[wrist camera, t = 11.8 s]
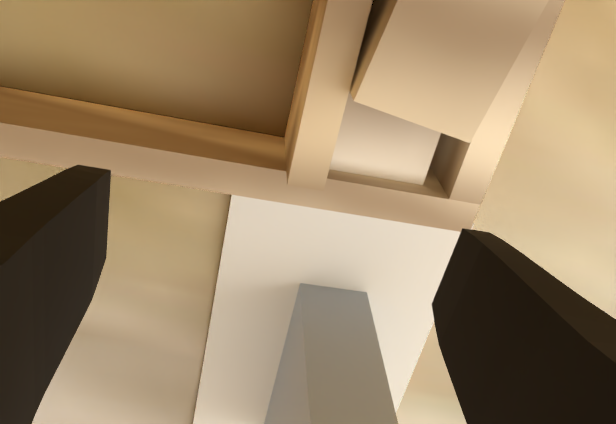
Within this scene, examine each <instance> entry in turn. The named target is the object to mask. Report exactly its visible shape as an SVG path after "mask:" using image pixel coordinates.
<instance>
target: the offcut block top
mask: <svg viewBox="0 0 616 424" xmlns="http://www.w3.org/2000/svg"><path fill="white" fill-rule="evenodd" d="M548 1H549V0H375V1H374V4H373V6H372V8H371V11H370V13H369V16H368V20H367V24H366V28H365V32H364V36H363V40H362V43H361V47H360V51H359V55H358V59H357V63H356V67H355V71H354V75H353V79H352V82H351V86H350V90H349V91H350V94H351V96H352V98H353V101H355V102H357V103H360V104H363V105H366V106H368V107H371V108H374V109H377V110H380V111H382V112H385V113H388V114H391V115H393V116H396V117H399V118H402V119H404V120H407V121H410V122H413V123H415V124H418V125H421V126H424V127H426V128H429V129H432V130H435V131H437V132H440V133H443V134H446V135H448V136H451V137H454V138H457V139H460V140H462V141H465V142H468V143H470V142H471V140H472V138H473V136H474V134H475V133H476V131H477V129H478V127H479V125H480V124H481V122H482V120H483V118H484V116H485V115H486V113H487V111H488V109H489V107H490V106H491V104H492V102H493V100H494V98H495V96H496V95H497V93H498V91H499V89H500V87H501V86H502V84H503V82H504V80H505V78H506V77H507V75H508V73H509V71H510V69H511V68H512V66H513V64H514V62H515V60H516V59H517V57H518V55H519V53H520V51H521V49H522V48H523V46H524V44H525V42H526V40H527V39H528V37H529V35H530V33H531V31H532V30H533V28H534V26H535V24H536V22H537V21H538V19H539V17H540V15H541V13H542V12H543V10H544V8H545V6H546V4H547V2H548Z"/></svg>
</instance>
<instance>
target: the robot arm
mask: <svg viewBox="0 0 616 424" xmlns="http://www.w3.org/2000/svg"><path fill="white" fill-rule="evenodd" d="M110 179H111V170H108V169H102V168H96V167H90V166H84V165H76V166H73V167H71V168H68V169H66V170H64V171H62V172H60V173H58V174H56V175H54V176H52V177H50V178H48V179H46V180H44V181H42V182H40V183H38V184H36V185H34V186H32V187H30V188H28V189H26V190H24V191H22V192H20V193H18V194H16V195H14V196H11V197H9V198H7V199H5V200H3V201H1V202H0V424H32V421H33V419H34V416H35V413H36V411H37V409H38V407H39V405H40V402H41V400H42V398H43V396H44V394H45V391H46V389H47V388H48V386H49V384H50V382H51V380H52V378H53V376H54V374H55V372H56V370H57V368H58V366H59V364H60V362H61V360H62V358H63V356H64V354H65V352H66V350H67V348H68V346H69V344H70V342H71V340H72V338H73V337H74V335H75V333H76V331H77V329H78V327H79V325H80V323H81V321H82V319H83V317H84V315H85V313H86V311H87V309H88V307H89V305H90V303H91V300H92V298H93V295H94V292H95V289H96V287H97V284H98V281H99V278H100V275H101V272H102V269H103V266H104V263H105V260H106V250H107V232H108V214H109V196H110ZM432 310H433V316H434V322H435V327H436V332H437V337H438V342H439V346H440V349H441V352H442V355H443V358H444V361H445V364H446V366H447V369H448V372H449V375H450V378H451V381H452V383H453V386H454V389H455V392H456V395H457V397H458V400H459V403H460V406H461V408H462V411H463V414H464V417H465V419H466V422H467V424H616V319H614V318H613V317H611V316H610V315H608V314H607V313H605V312H604V311H602V310H601V309H599V308H598V307H596V306H595V305H593V304H592V303H590V302H589V301H587V300H586V299H584V298H583V297H582V296H580V295H579V294H577V293H576V292H574V291H573V290H572V289H570V288H569V287H567V286H566V285H565V284H563V283H562V282H560V281H559V280H558V279H556V278H555V277H554V276H552V275H551V274H550V273H548V272H547V271H545V270H544V269H543V268H541V267H540V266H539V265H537V264H536V263H535V262H533V261H532V260H530V259H529V258H528V257H526V256H525V255H524V254H522V253H521V252H519V251H518V250H517V249H515V248H514V247H512V246H511V245H509V244H508V243H506V242H505V241H503V240H502V239H500V238H498V237H497V236H495V235H493V234H491V233H489V232H483V231H476V230H470V229H464V228H462V230H461V233H460V235H459V238H458V240H457V243H456V245H455V248H454V250H453V253H452V255H451V257H450V260H449V262H448V265H447V267H446V270H445V272H444V275H443V277H442V280H441V282H440V285H439V287H438V290H437V292H436V294H435V297H434V299H433V302H432Z"/></svg>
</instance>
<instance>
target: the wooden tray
mask: <svg viewBox="0 0 616 424" xmlns="http://www.w3.org/2000/svg"><path fill="white" fill-rule="evenodd" d="M372 1H373V0H313V3H312V8H311V13H310V18H309V22H308V27H307V32H306V37H305V42H304V46H303V51H302V56H301V61H300V66H299V70H298V75H297V80H296V85H295V89H294V94H293V99H292V104H291V109H290V113H289V118H288V123H287V128H286V133H285V137H279V136H273V135H268V134H262V133H257V132H251V131H246V130H240V129H234V128H229V127H223V126H218V125H212V124H207V123H201V122H196V121H190V120H184V119H179V118H173V117H168V116H162V115H157V114H151V113H146V112H140V111H134V110H129V109H123V108H118V107H112V106H107V105H101V104H96V103H90V102H85V101H79V100H73V99H68V98H62V97H57V96H51V95H46V94H40V93H35V92H29V91H23V90H18V89H12V88H7V87H1V86H0V157H2V158H8V159H14V160H20V161H27V162H33V163H39V164H45V165H51V166H57V167H64V168H71V167H73V166H76V165H84V166H90V167H96V168H102V169H108V170H111V175H113V176H119V177H125V178H131V179H138V180H144V181H150V182H156V183H162V184H169V185H175V186H181V187H187V188H193V189H199V190H206V191H212V192H218V193H224V194H230V195H236V196H243V197H249V198H255V199H261V200H267V201H273V202H280V203H286V204H292V205H298V206H304V207H310V208H317V209H323V210H329V211H335V212H341V213H347V214H354V215H360V216H366V217H372V218H378V219H384V220H391V221H397V222H403V223H409V224H415V225H421V226H428V227H434V228H440V229H446V230H452V231H459V232H461V230H462V228H464V229H470V230H471V228H472V225H473V223H474V220H475V218H476V216H477V213H478V211H479V208H480V206H481V203H482V201H483V199H484V196H485V194H486V191H487V189H488V186H489V184H490V182H491V179H492V177H493V174H494V172H495V169H496V167H497V165H498V162H499V160H500V157H501V155H502V152H503V150H504V148H505V145H506V143H507V140H508V138H509V135H510V133H511V131H512V128H513V126H514V123H515V121H516V118H517V116H518V114H519V111H520V109H521V106H522V104H523V101H524V99H525V97H526V94H527V92H528V89H529V87H530V84H531V82H532V80H533V77H534V75H535V72H536V70H537V67H538V65H539V63H540V60H541V58H542V55H543V53H544V50H545V48H546V46H547V43H548V41H549V38H550V36H551V33H552V31H553V28H554V26H555V24H556V21H557V19H558V16H559V14H560V11H561V9H562V7H563V4H564V2H565V0H549V1H548V2H547V4H546V6H545V8H544V10H543V12H542V13H541V15H540V17H539V19H538V21H537V22H536V24H535V26H534V28H533V30H532V31H531V33H530V35H529V37H528V39H527V40H526V42H525V44H524V46H523V48H522V49H521V51H520V53H519V55H518V57H517V59H516V60H515V62H514V64H513V66H512V68H511V69H510V71H509V73H508V75H507V77H506V78H505V80H504V82H503V84H502V86H501V87H500V89H499V91H498V93H497V95H496V96H495V98H494V100H493V102H492V104H491V106H490V107H489V109H488V111H487V113H486V115H485V116H484V118H483V120H482V122H481V124H480V125H479V127H478V129H477V131H476V133H475V134H474V136H473V138H472V140H471V142H470V143H468V142H465V141H462V140H460V139H457V138H454V137H451V136H448V135H446V134H443V133H441V135H440V138H439V141H438V144H437V146H436V149H435V152H434V155H433V158H432V161H431V164H430V166H429V169H428V172H427V175H426V178H425V181H424V184H423V185H418V184H412V183H406V182H400V181H395V180H389V179H383V178H377V177H371V176H366V175H360V174H354V173H348V172H342V171H336V170H331V169H329V168H330V164H331V160H332V156H333V153H334V149H335V145H336V141H337V137H338V133H339V129H340V125H341V121H342V118H343V114H344V110H345V106H346V102H347V98H348V94H349V90H350V86H351V82H352V79H353V75H354V71H355V67H356V63H357V59H358V55H359V51H360V47H361V43H362V40H363V36H364V32H365V28H366V24H367V20H368V16H369V12H370V8H371V5H372Z"/></svg>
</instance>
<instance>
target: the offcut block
mask: <svg viewBox="0 0 616 424" xmlns="http://www.w3.org/2000/svg"><path fill="white" fill-rule="evenodd" d="M440 135H441V133H440V132H437V131H435V130H432V129H429V128H426V127H424V126H421V125H418V124H415V123H413V122H410V121H407V120H404V119H402V118H399V117H396V116H393V115H391V114H388V113H385V112H382V111H380V110H377V109H374V108H371V107H368V106H366V105H363V104H360V103H357V102H355V101H353V98H352V96H351V94H350V91H349V94H348V98H347V102H346V106H345V110H344V114H343V118H342V121H341V125H340V129H339V133H338V137H337V141H336V145H335V149H334V153H333V156H332V160H331V164H330V168H329V169H331V170H336V171H342V172H348V173H354V174H360V175H366V176H371V177H377V178H383V179H389V180H395V181H400V182H406V183H412V184H418V185H423V184H424V181H425V178H426V175H427V172H428V169H429V166H430V164H431V161H432V158H433V155H434V152H435V149H436V146H437V144H438V141H439V138H440Z"/></svg>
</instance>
